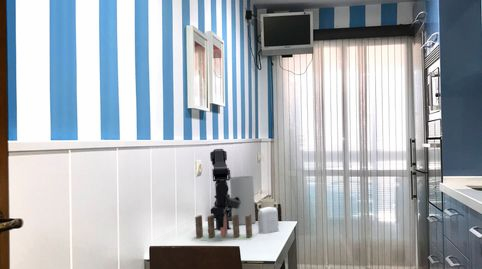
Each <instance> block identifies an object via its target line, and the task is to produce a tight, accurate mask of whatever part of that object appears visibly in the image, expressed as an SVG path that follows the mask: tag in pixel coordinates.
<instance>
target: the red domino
mask: <svg viewBox="0 0 482 269" xmlns="http://www.w3.org/2000/svg"><path fill="white" fill-rule="evenodd" d="M220 235H221V236H225V235H228V229H227V219H226V215H225V216H224V225H223V228H221V230H220Z"/></svg>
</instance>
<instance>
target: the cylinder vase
mask: <svg viewBox="0 0 482 269" xmlns="http://www.w3.org/2000/svg"><path fill="white" fill-rule="evenodd" d="M229 183H230V184H229V186H230V187H229V189H230V198H234V199H235V198H236V197H239V198H240V201H241V204H240V206H239V208H238V209H235V208H233V209H232V211H231V222H232V224H233V218H232V216H234V215H239V226H246V223H245V216H246V215H248V214H251V223H252V224H255V223H256V212H255V211H256V208H255V206H256V204H255V188H254V187H255V186H254V176H252V175H246V176H244V175H243V176H241V175H240V176H232V177H231V179H230V180H229Z"/></svg>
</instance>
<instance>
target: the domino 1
mask: <svg viewBox="0 0 482 269" xmlns="http://www.w3.org/2000/svg"><path fill="white" fill-rule="evenodd" d="M194 220H195V221H194V223H195V234H196V235H195V238H196V239H200V238H201V237H203V235H204V231H203V215H202V214H200V215H196V216H195V217H194Z"/></svg>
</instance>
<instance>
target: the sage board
mask: <svg viewBox="0 0 482 269" xmlns="http://www.w3.org/2000/svg"><path fill="white" fill-rule="evenodd" d="M256 235H257V234H256V233H252V237H251V238H246V233H244V234H242V233H240V236H239V237H238V238H234V236H233V234H227V235H225V236H221V234H215V237H213V238H209V236H208V234H203V237H201V238H200V239H196V237H194V238H193V239H191V241H251V240H252V239H253V238H254V237H255V236H256Z"/></svg>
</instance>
